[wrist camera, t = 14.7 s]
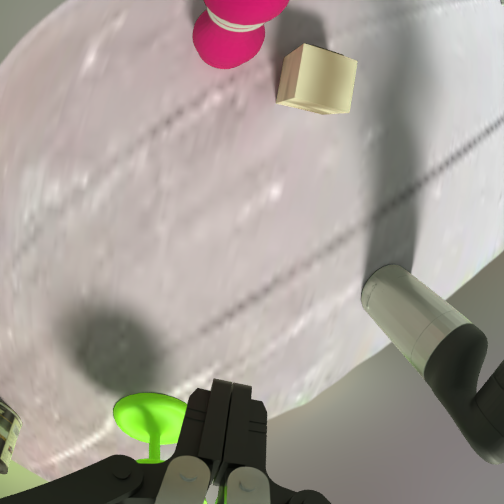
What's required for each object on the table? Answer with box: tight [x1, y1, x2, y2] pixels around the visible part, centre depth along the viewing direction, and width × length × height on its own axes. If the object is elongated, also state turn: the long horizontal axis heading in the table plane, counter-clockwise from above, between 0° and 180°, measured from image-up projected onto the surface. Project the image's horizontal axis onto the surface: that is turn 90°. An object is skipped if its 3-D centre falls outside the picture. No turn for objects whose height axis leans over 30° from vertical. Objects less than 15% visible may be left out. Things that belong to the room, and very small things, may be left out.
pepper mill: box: [193, 0, 289, 69], centre depth 20 cm, size 7×7×20 cm
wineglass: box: [113, 393, 207, 504], centre depth 40 cm, size 16×16×18 cm
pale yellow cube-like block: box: [276, 44, 357, 115], centre depth 29 cm, size 6×6×7 cm
